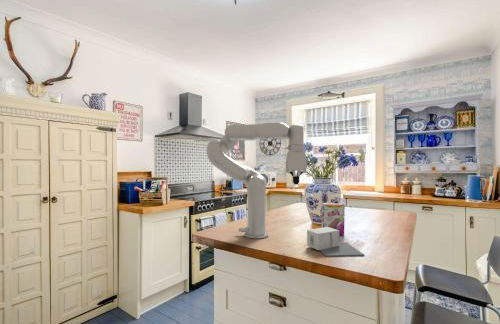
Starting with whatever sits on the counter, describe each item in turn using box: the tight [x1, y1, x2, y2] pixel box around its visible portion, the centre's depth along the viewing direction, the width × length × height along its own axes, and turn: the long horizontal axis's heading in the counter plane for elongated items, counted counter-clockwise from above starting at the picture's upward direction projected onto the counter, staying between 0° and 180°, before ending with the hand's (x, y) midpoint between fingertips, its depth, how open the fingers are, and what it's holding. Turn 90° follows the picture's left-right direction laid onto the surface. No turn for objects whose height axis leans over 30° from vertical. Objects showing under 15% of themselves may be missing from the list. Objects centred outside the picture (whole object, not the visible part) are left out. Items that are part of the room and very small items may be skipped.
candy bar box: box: [321, 202, 346, 237], centre depth 138 cm, size 11×5×16 cm, turn 84°
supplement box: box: [306, 227, 340, 251], centre depth 116 cm, size 7×7×13 cm
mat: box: [318, 242, 365, 258], centre depth 112 cm, size 16×16×1 cm
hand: (296, 184), depth 133 cm, fingers closed
